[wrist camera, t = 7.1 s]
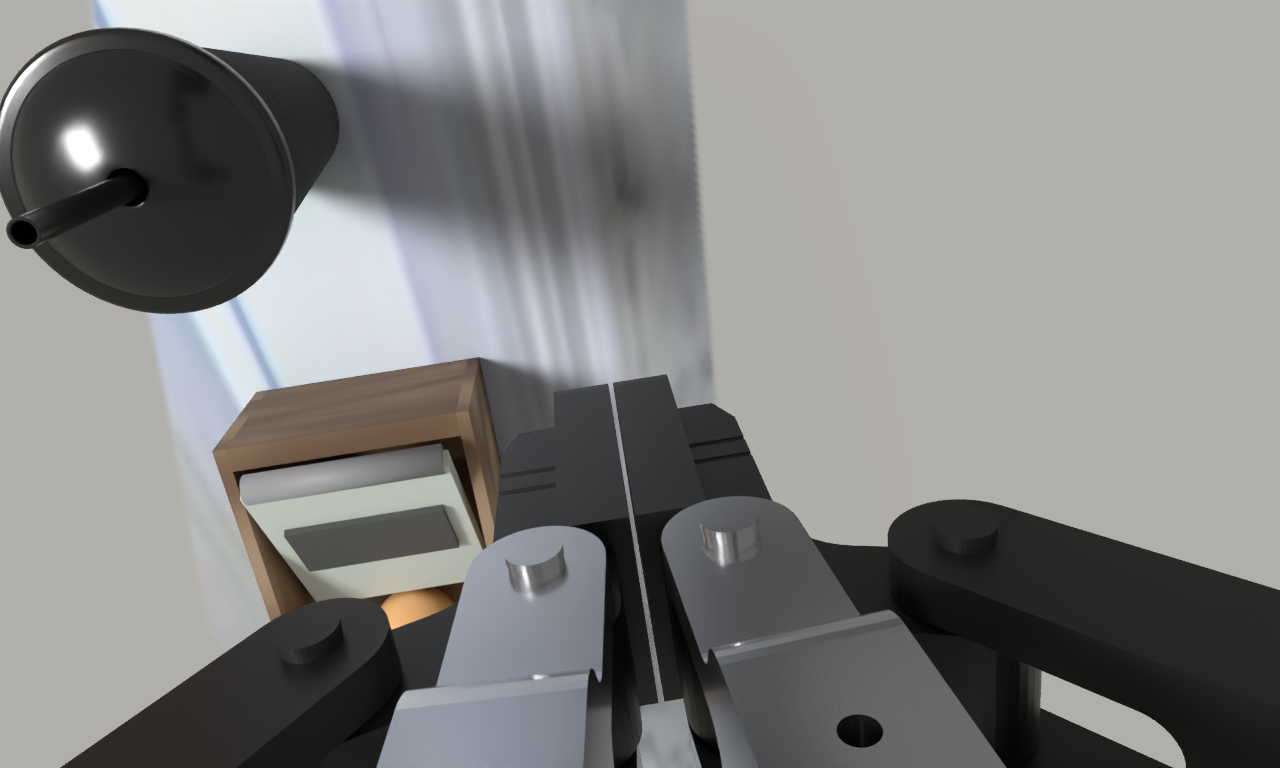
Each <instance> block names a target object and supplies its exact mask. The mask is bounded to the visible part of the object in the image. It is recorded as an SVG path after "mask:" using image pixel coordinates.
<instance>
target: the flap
mask: <svg viewBox="0 0 1280 768" xmlns="http://www.w3.org/2000/svg"><path fill="white" fill-rule="evenodd" d="M240 501H241V502H242V504H243V505H244V506H245V508H246V509H247V510H248V512H249V513H250V514H251V516H252V517H253V518H254V520H255V521H256V522H257V524H258V525H259V526H260V528H261V529H262V530H263V532H264V533H265V534H266V536H267V537H268V538H269V540H270V541H271V542H272V544H273V545H274V546H275V548H276V549H277V550H278V552H279V553H280V554H281V556H282V557H283V558H284V560H285V561H286V562H287V564H288V565H289V566H290V567H291V569H292V570H293V571H294V573H295V574H296V575H297V577H298V578H299V579H300V581H301V582H302V583H303V585H304V586H305V587H306V589H307V590H308V591H309V593H310V594H311V595H312V597H313V598H314V599H315V601H316V602H318V601H322V600H327V599H334V598H359V599H362V598H368V597H375V596H381V595H387V594H393V593H399V592H405V591H411V590H417V589H423V588H429V587H435V586H442V585H448V584H454V583H460V582H464V581H465V578H466V574H467V571H468V568H469V566H470V564H471V563H472V561H473V560H474V558H475V557H476V556H477V555H478V554H479V553H480V552H481V551H483V550H484V549H485V548H487V547H486V543H485V541H484V538H483V536H482V533H481V531H480V528H479V526H478V523H477V521H476V518H475V516H474V513H473V511H472V508H471V506H470V504H469V501H468V499H467V496H466V494H465V491H464V489H463V486H462V484H461V481H460V479H459V476H458V474H457V471H456V469H455V466H454V464H453V461H452V459H451V456H450V454H449V451H448V450H444V449H443V446H442V444H441V443H440V444H434V445H428V446H421V447H415V448H409V449H403V450H396V451H390V452H384V453H377V454H371V455H365V456H359V457H352V458H346V459H340V460H333V461H327V462H321V463H315V464H308V465H302V466H296V467H289V468H283V469H277V470H271V471H264V472H258V473H252V474H246V475H242V477H241V479H240Z"/></svg>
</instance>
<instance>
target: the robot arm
mask: <svg viewBox="0 0 1280 768" xmlns="http://www.w3.org/2000/svg"><path fill="white" fill-rule="evenodd" d="M613 386H614V393H615V400H616V406H617V412H618V419H619V425H620V432H621V438H622V444H623V451H624V457H625V463H626V470H627V476H628V483H629V489H630V495H631V502H632V508H633V514H634V521H635V527H636V533H637V539H638V545H639V551H640V557H641V563H642V569H643V575H644V581H645V587H646V593H647V599H648V605H649V611H650V617H651V623H652V630H653V636H654V642H655V648H656V654H657V660H658V666H659V672H660V678H661V684H662V690H663V696H664V701H670V700H676V699H682V698H683V699H684V705H685V710H686V715H687V721H688V728H689V735H690V741H691V748H692V755H693V760H694V764H695V767H696V768H1172V767H1170V766H1168V765H1165V764H1163V763H1161V762H1159V761H1157V760H1154V759H1152V758H1150V757H1148V756H1146V755H1143V754H1141V753H1139V752H1137V751H1135V750H1132V749H1130V748H1128V747H1126V746H1124V745H1121V744H1119V743H1117V742H1115V741H1112V740H1110V739H1108V738H1106V737H1104V736H1101V735H1099V734H1097V733H1095V732H1092V731H1090V730H1088V729H1086V728H1084V727H1081V726H1079V725H1076V724H1075V723H1072V722H1070V721H1068V720H1066V719H1064V718H1061V717H1059V716H1057V715H1055V714H1052V713H1050V712H1048V711H1046V710H1044V709H1041V708H1040V697H1041V671H1044V672H1046V673H1049V674H1051V675H1053V676H1056V677H1058V678H1061V679H1063V680H1065V681H1068V682H1070V683H1072V684H1075V685H1078V686H1080V687H1082V688H1084V689H1087V690H1089V691H1092V692H1094V693H1096V694H1099V695H1101V696H1104V697H1106V698H1108V699H1110V700H1113V701H1115V702H1117V703H1120V704H1122V705H1125V706H1127V707H1129V708H1132V709H1134V710H1136V711H1139V712H1141V713H1143V714H1145V715H1147V716H1149V717H1150V718H1152V719H1153V720H1155V721H1156V722H1158V723H1159V724H1160V725H1161V726H1163V727H1164V728H1165V729H1166V730H1167V731H1168V732H1169V733H1170V734H1171V735H1172V737H1173V738H1174V739H1175V740H1176V742H1177V743H1178V745H1179V747H1180V748H1181V750H1182V753H1183V755H1184V758H1185V762H1186V768H1280V590H1277V589H1274V588H1271V587H1267V586H1264V585H1261V584H1258V583H1254V582H1251V581H1248V580H1244V579H1241V578H1238V577H1235V576H1231V575H1228V574H1225V573H1221V572H1218V571H1215V570H1212V569H1208V568H1205V567H1202V566H1199V565H1195V564H1192V563H1189V562H1185V561H1182V560H1179V559H1175V558H1172V557H1169V556H1166V555H1162V554H1159V553H1156V552H1153V551H1149V550H1146V549H1142V548H1139V547H1136V546H1133V545H1130V544H1126V543H1123V542H1120V541H1117V540H1113V539H1110V538H1107V537H1103V536H1100V535H1097V534H1094V533H1090V532H1087V531H1083V530H1080V529H1077V528H1074V527H1070V526H1067V525H1064V524H1060V523H1057V522H1054V521H1051V520H1048V519H1044V518H1041V517H1037V516H1034V515H1031V514H1028V513H1024V512H1021V511H1018V510H1015V509H1011V508H1008V507H1005V506H1002V505H997V504H994V503H989V502H983V501H976V500H942V501H936V502H931V503H926V504H923V505H920V506H916V507H914V508H912V509H910V510H908V511H906V512H904V513H903V514H901V515H900V516H899V517H898V518H896V519H895V520H894V521H893V523H892V525H891V526H890V528H889V531H888V547H880V546H879V547H878V546H850V545H838V544H832V543H826V542H823V541H819V540H815V539H812V538H810V536H809V535H808V533H807V532H806V530H805V529H804V527H803V525H802V524H801V522H800V521H799V519H798V518H797V516H795V514H794V513H793V512H792V511H791V510H789V509H788V508H786V507H785V506H783V505H781V504H779V503H776V502H774V501H772V499H771V497H770V495H769V492H768V490H767V488H766V486H765V483H764V481H763V479H762V477H761V475H760V473H759V470H758V468H757V465H756V463H755V461H754V459H753V457H752V455H751V454H750V450H749V448H748V446H747V443H746V441H745V439H744V438H743V434H742V432H741V430H740V428H739V425H738V423H737V421H736V419H735V417H734V416H732V415H731V414H729V413H727V412H726V411H724V410H722V409H721V408H719V407H717V406H716V405H714V404H712V403H710V404H704V405H697V406H691V407H685V408H679V409H677V405H676V402H675V399H674V396H673V393H672V390H671V386H670V383H669V380H668V377H667V375H659V376H653V377H647V378H640V379H634V380H628V381H621V382H615V383H613ZM554 413H555V428H554V429H548V430H541V431H535V432H529V433H523V434H519V435H518V437H517V438H516V439H515V440H514V441H513V442H512V443H511V445H510V446H509V447H508V448H507V449H506V450H505V451H504V453H503V454H502V459H501V469H500V479H499V489H498V494H499V496H498V498H497V508H496V518H495V528H494V537H493V544H491V545H489V546H488V547H487V548H485V549H484V550H483V551H481V552H480V553H479V554H478V555H477V556H476V557H475V558H474V560H473V561H472V563H471V564H470V566H469V568H468V571H467V574H466V578H465V581H464V585H463V589H462V592H461V596H460V600H459V601H458V602H456V603H455V604H453V605H451V606H449V607H447V608H445V609H443V610H442V611H439V612H437V613H435V614H432V615H430V616H427V617H425V618H422V619H419V620H416V621H414V622H411V623H408V624H406V625H403V626H400V627H398V628H395V629H392V630H391V627H390V623H389V620H388V616H387V614H386V613H385V611H384V610H383V609H382V608H381V607H380V606H379V605H377V604H375V603H373V602H371V601H368V600H364V599H359V598H334V599H327V600H322V601H318V602H314V603H310V604H307V605H304V606H301V607H299V608H296V609H294V610H291V611H289V612H287V613H285V614H283V615H281V616H279V617H277V618H275V619H274V620H272V621H271V622H269V623H267V624H266V625H264V626H263V627H261V628H260V629H259V630H257V631H256V632H254V633H253V634H251V635H250V636H249V637H247V638H246V639H244V640H243V641H241V642H240V643H239V644H237V645H236V646H234V647H233V648H231V649H230V650H228V651H227V652H226V653H224V654H223V655H221V656H220V657H218V658H217V659H216V660H214V661H213V662H211V663H210V664H208V665H207V666H206V667H204V668H203V669H201V670H200V671H198V672H197V673H195V674H194V675H193V676H191V677H190V678H188V679H187V680H186V681H184V682H183V683H181V684H180V685H178V686H177V687H175V688H174V689H173V690H171V691H170V692H169V693H167V694H165V695H164V696H162V697H161V698H160V699H158V700H157V701H155V702H154V703H152V704H151V705H150V706H148V707H147V708H145V709H144V710H142V711H141V712H140V713H138V714H137V715H135V716H134V717H132V718H131V719H129V720H128V721H127V722H125V723H124V724H122V725H121V726H119V727H118V728H117V729H115V730H114V731H112V732H111V733H109V734H108V735H107V736H105V737H104V738H102V739H101V740H100V741H98V742H97V743H95V744H94V745H92V746H91V747H89V748H88V749H86V750H85V751H84V752H82V753H81V754H79V755H78V756H76V757H75V758H74V759H72V760H71V761H69V762H68V763H66V764H65V765H63V766H62V767H61V768H643V766H642V759H641V754H640V748H639V742H640V739H641V734H642V720H641V713H640V706H642V705H648V704H654V703H658V698H657V691H656V685H655V678H654V672H653V666H652V659H651V653H650V647H649V640H648V634H647V627H646V621H645V615H644V608H643V602H642V595H641V589H640V583H639V576H638V570H637V563H636V557H635V551H634V544H633V538H632V531H631V525H630V519H629V512H628V506H627V500H626V493H625V487H624V481H623V475H622V468H621V462H620V456H619V449H618V443H617V437H616V430H615V424H614V418H613V411H612V405H611V399H610V393H609V386H608V384H603V385H597V386H591V387H584V388H578V389H572V390H565V391H559V392H554Z"/></svg>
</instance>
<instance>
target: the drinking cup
mask: <svg viewBox="0 0 1280 768" xmlns="http://www.w3.org/2000/svg"><path fill="white" fill-rule="evenodd" d="M338 135H339V119H338V114H337V110H336V107H335V104H334V101H333V99H332V97H331V95H330V94H329V92H328V90H327V89H326V88H325V86H324V85H323V84H322V83H321V81H320V80H319V79H318V78H317V77H316V76H314V75H313V74H312V73H311V72H309V71H308V70H307V69H305V68H303V67H302V66H300V65H298V64H296V63H293V62H291V61H287V60H284V59H279V58H272V57H266V56H259V55H252V54H245V53H238V52H231V51H224V50H217V49H210V48H203V47H199V46H197V45H195V44H193V43H191V42H188V41H186V40H184V39H181V38H178V37H175V36H173V35H169V34H166V33H162V32H158V31H154V30H147V29H141V28H128V27H115V28H101V29H94V30H88V31H84V32H80V33H76V34H73V35H71V36H68V37H65V38H63V39H60V40H59V41H57V42H55V43H53V44H51V45H49V46H47V47H46V48H44V49H43V50H42V51H40V52H39V53H37V54H36V55H35V56H34V57H33V58H31V59H30V60H29V61H28V62H27V63H26V64H25V65H24V66H23V67H22V68H21V70H20V71H19V72H18V73H17V75H16V76H15V77H14V79H13V80H12V82H11V83H10V85H9V87H8V89H7V91H6V93H5V94H4V96H3V99H2V101H1V104H0V193H1V195H2V198H3V200H4V203H5V206H6V208H7V210H8V212H9V214H10V216H11V218H12V220H10V221H9V223H8V224H7V228H6V231H7V235H8V237H9V239H10V240H11V242H12V243H13V244H15V245H16V246H18V247H20V248H24V249H31V248H32V249H33V250H34V251H35V252H36V253H37V254H38V255H39V256H40V257H41V258H42V259H43V260H44V261H45V262H46V263H47V264H48V265H49V266H50V267H51V268H52V269H53V270H55V271H56V272H57V273H58V274H59V275H61V276H62V277H63V278H65V279H66V280H68V281H69V282H70V283H72V284H73V285H75V286H76V287H78V288H80V289H82V290H83V291H85V292H87V293H89V294H91V295H93V296H95V297H97V298H99V299H101V300H104V301H106V302H109V303H111V304H115V305H117V306H121V307H124V308H128V309H132V310H137V311H141V312H149V313H158V314H178V313H189V312H195V311H200V310H204V309H208V308H211V307H214V306H217V305H220V304H222V303H224V302H226V301H229V300H231V299H233V298H235V297H236V296H238V295H239V294H241V293H243V292H244V291H246V290H247V289H248V288H249V287H251V286H252V285H253V284H254V283H256V282H257V281H258V280H259V279H260V278H261V277H262V276H263V275H264V274H265V273H266V272H267V270H268V269H269V268H270V267H271V266H272V264H273V263H274V262H275V260H276V258H277V257H278V255H279V254H280V252H281V250H282V248H283V246H284V244H285V242H286V240H287V237H288V235H289V232H290V229H291V225H292V221H293V217H294V213H295V212H296V210H297V209H298V207H299V206H300V204H301V203H302V201H303V199H304V198H305V196H306V195H307V193H308V192H309V190H310V189H311V187H312V185H313V184H314V182H315V181H316V179H317V178H318V176H319V175H320V173H321V172H322V170H323V168H324V167H325V165H326V164H327V162H328V161H329V159H330V158H331V156H332V154H333V152H334V150H335V148H336V144H337V141H338Z"/></svg>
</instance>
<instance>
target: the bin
mask: <svg viewBox="0 0 1280 768" xmlns="http://www.w3.org/2000/svg"><path fill="white" fill-rule="evenodd" d="M440 443H441V444H442V446H443V449H444V450H448V451H449V454H450V456H451V459H452V461H453V464H454V466H455V469H456V471H457V474H458V476H459V479H460V481H461V484H462V486H463V489H464V491H465V494H466V496H467V499H468V501H469V504H470V506H471V508H472V511H473V513H474V516H475V518H476V521H477V523H478V526H479V528H480V531H481V533H482V536H483V538H484V541H485V543H486V547H488V546H489V545H491V544H493V537H494V528H495V518H496V508H497V498H498V496H499V494H498V489H499V479H500V469H501V459H500V454H499V450H498V445H497V440H496V436H495V431H494V426H493V422H492V417H491V412H490V408H489V403H488V398H487V394H486V389H485V384H484V380H483V375H482V370H481V365H480V361H479V357H478V358H472V359H466V360H459V361H453V362H446V363H440V364H434V365H427V366H421V367H415V368H408V369H402V370H395V371H389V372H383V373H376V374H370V375H363V376H357V377H351V378H344V379H338V380H331V381H325V382H319V383H312V384H306V385H299V386H293V387H287V388H280V389H274V390H268V391H261V392H256V393H255V395H254V396H253V397H252V399H251V400H250V401H249V403H248V404H247V405H246V407H245V408H244V409H243V411H242V412H241V414H240V415H239V416H238V418H237V419H236V420H235V422H234V423H233V424H232V426H231V427H230V428H229V430H228V431H227V432H226V434H225V435H224V436H223V438H222V439H221V440H220V442H219V443H218V444H217V446H216V447H215V448H214V450H213V451H212V452H213V455H214V458H215V461H216V464H217V467H218V470H219V473H220V475H221V478H222V481H223V484H224V487H225V490H226V493H227V496H228V499H229V502H230V504H231V507H232V510H233V513H234V516H235V519H236V522H237V525H238V528H239V531H240V533H241V536H242V539H243V542H244V545H245V548H246V551H247V554H248V557H249V560H250V562H251V565H252V568H253V571H254V574H255V577H256V580H257V583H258V586H259V589H260V591H261V594H262V597H263V600H264V603H265V606H266V609H267V612H268V615H269V618H270V620H271V621H272V620H274V619H275V618H277V617H279V616H281V615H283V614H285V613H287V612H289V611H291V610H294V609H296V608H299V607H301V606H304V605H307V604H310V603H314V602H316V601H315V599H314V598H313V597H312V595H311V594H310V593H309V591H308V590H307V589H306V587H305V586H304V585H303V583H302V582H301V581H300V579H299V578H298V577H297V575H296V574H295V573H294V571H293V570H292V569H291V567H290V566H289V565H288V564H287V562H286V561H285V560H284V558H283V557H282V556H281V554H280V553H279V552H278V550H277V549H276V548H275V546H274V545H273V544H272V542H271V541H270V540H269V538H268V537H267V536H266V534H265V533H264V532H263V530H262V529H261V528H260V526H259V525H258V524H257V522H256V521H255V520H254V518H253V517H252V516H251V514H250V513H249V512H248V510H247V509H246V508H245V506H244V505H243V504H242V502H241V501H240V479H241V477H242V475H246V474H252V473H258V472H264V471H271V470H277V469H283V468H289V467H296V466H302V465H308V464H315V463H321V462H327V461H333V460H340V459H346V458H352V457H359V456H365V455H371V454H377V453H384V452H390V451H396V450H403V449H409V448H415V447H421V446H428V445H434V444H440ZM463 585H464V582H460V583H454V584H448V585H442V586H435V587H434V588H436V589H439V590H441V591H442V592H444V593H445V594H446V595H447V596H449V597H450V599H451V600H452V601H453V602H454V604H455V603H456V602H458V601H459V600H460V596H461V592H462V589H463ZM391 595H392V594H387V595H381V596H375V597H368V598H362V599H364V600H368V601H371V602H373V603H375V604H377V605H379V606H380V607H381V606H382V604H383V603H384V602H385V600H386V599H387V598H388V597H389V596H391Z"/></svg>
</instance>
